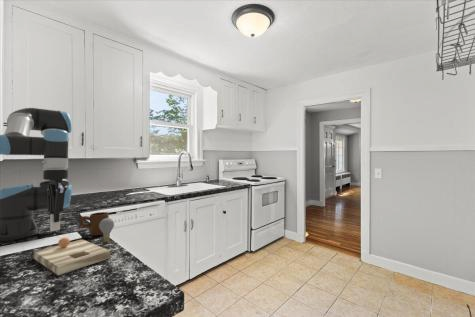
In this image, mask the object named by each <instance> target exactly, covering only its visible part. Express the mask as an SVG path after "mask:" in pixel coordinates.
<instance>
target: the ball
mask: <svg viewBox="0 0 475 317" xmlns="http://www.w3.org/2000/svg"><path fill="white" fill-rule="evenodd" d="M70 242H71V240H70V238H69V237H65V236H64V237H62V238H59V240H58V243H57V246H58V245H59V246H60V247H66V246H68V245H69V243H70Z"/></svg>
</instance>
